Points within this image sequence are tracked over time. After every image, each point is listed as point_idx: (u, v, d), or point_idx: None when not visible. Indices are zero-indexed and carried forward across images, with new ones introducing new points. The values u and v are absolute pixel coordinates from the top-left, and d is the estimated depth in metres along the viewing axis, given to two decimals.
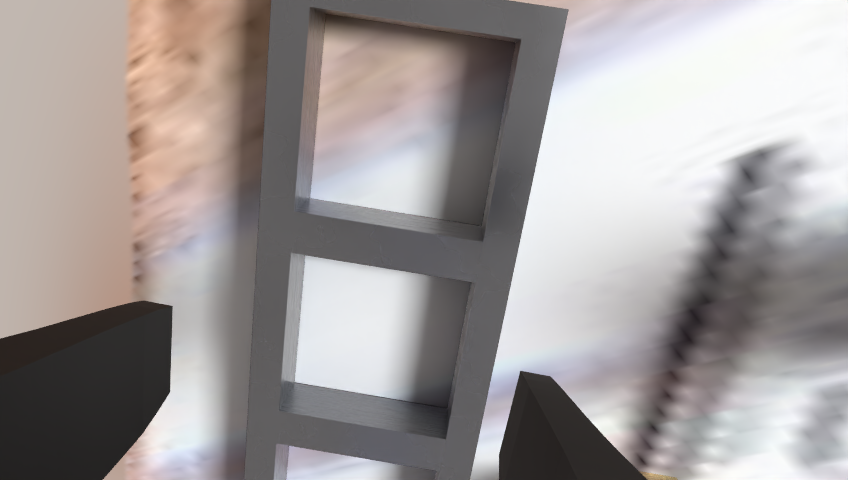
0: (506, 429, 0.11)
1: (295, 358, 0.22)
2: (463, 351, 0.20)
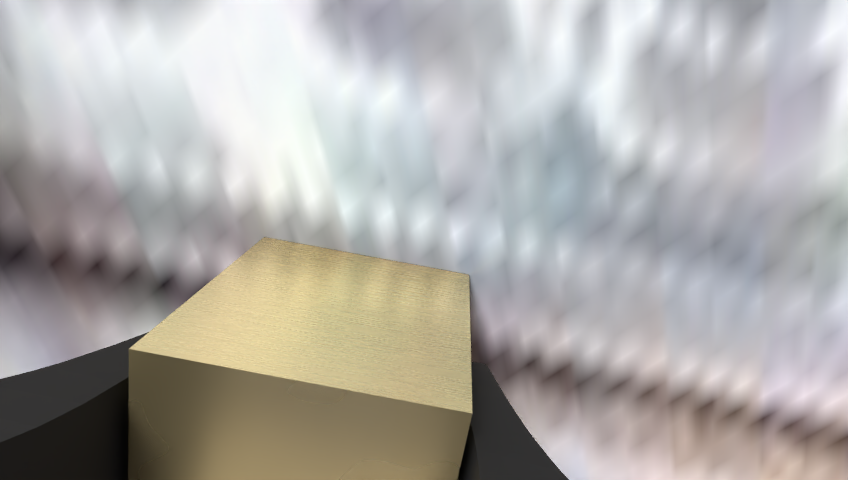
0: None
1: None
2: None
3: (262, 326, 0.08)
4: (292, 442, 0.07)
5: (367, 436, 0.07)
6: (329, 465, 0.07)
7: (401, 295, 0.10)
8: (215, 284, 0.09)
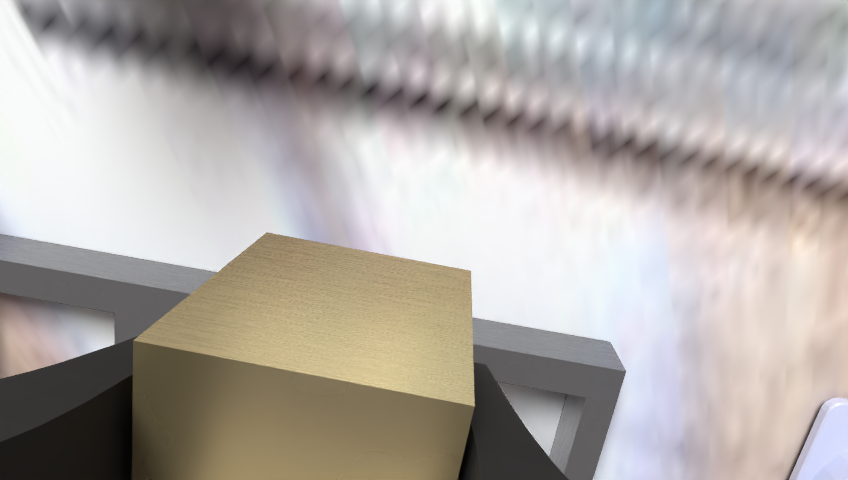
0: None
1: None
2: None
3: (265, 320, 0.08)
4: (295, 433, 0.07)
5: (369, 428, 0.07)
6: (332, 457, 0.07)
7: (403, 290, 0.10)
8: (218, 277, 0.09)
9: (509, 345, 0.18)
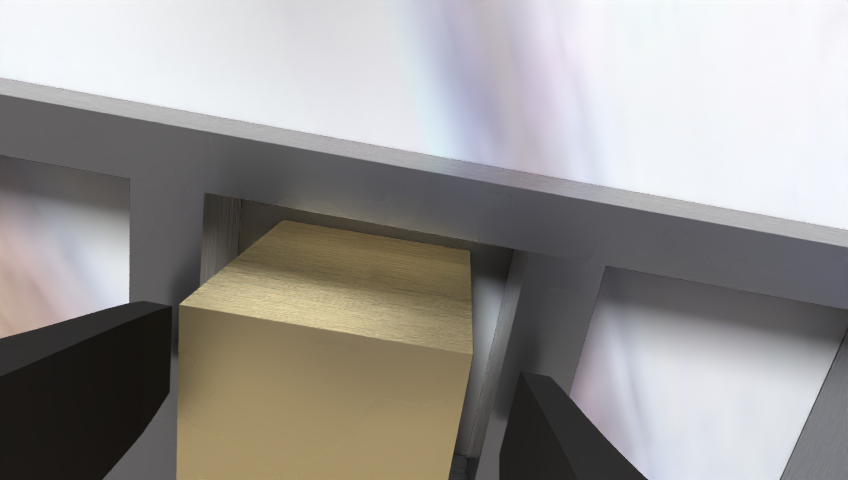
0: (506, 429, 0.11)
1: None
2: (339, 214, 0.11)
3: (289, 289, 0.09)
4: (319, 383, 0.08)
5: (382, 377, 0.08)
6: (351, 403, 0.09)
7: (409, 266, 0.11)
8: (245, 255, 0.10)
9: (809, 236, 0.11)
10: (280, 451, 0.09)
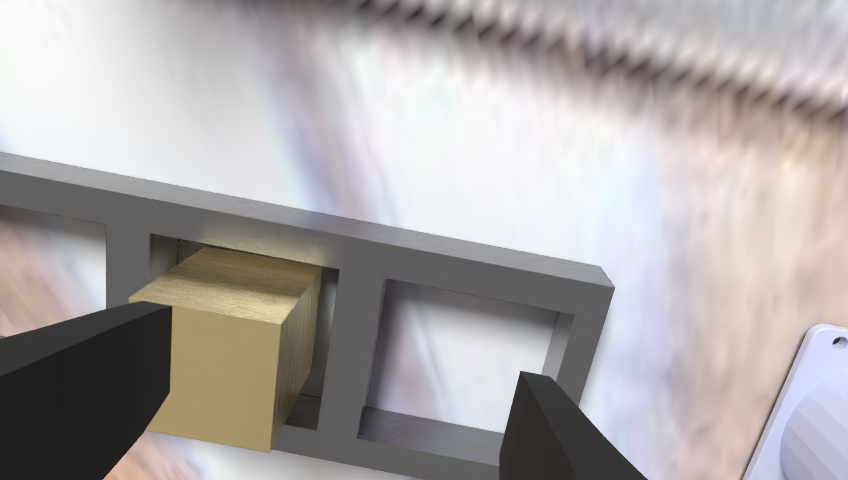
0: (506, 429, 0.11)
1: (299, 395, 0.22)
2: (228, 246, 0.18)
3: (192, 289, 0.17)
4: (203, 339, 0.16)
5: (236, 336, 0.16)
6: (220, 350, 0.16)
7: (274, 276, 0.19)
8: (172, 270, 0.18)
9: (500, 261, 0.18)
10: (184, 378, 0.17)
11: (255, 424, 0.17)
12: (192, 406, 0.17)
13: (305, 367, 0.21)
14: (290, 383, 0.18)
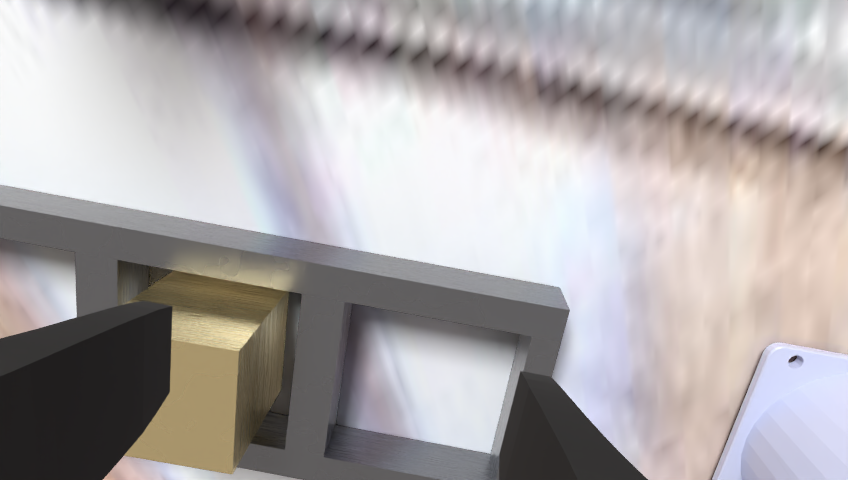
0: (506, 429, 0.11)
1: (270, 414, 0.23)
2: (194, 272, 0.19)
3: None
4: None
5: (196, 362, 0.16)
6: (181, 376, 0.17)
7: (239, 300, 0.19)
8: (139, 296, 0.19)
9: (458, 285, 0.19)
10: None
11: (217, 447, 0.17)
12: (156, 429, 0.17)
13: (273, 387, 0.21)
14: (255, 405, 0.19)
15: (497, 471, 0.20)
